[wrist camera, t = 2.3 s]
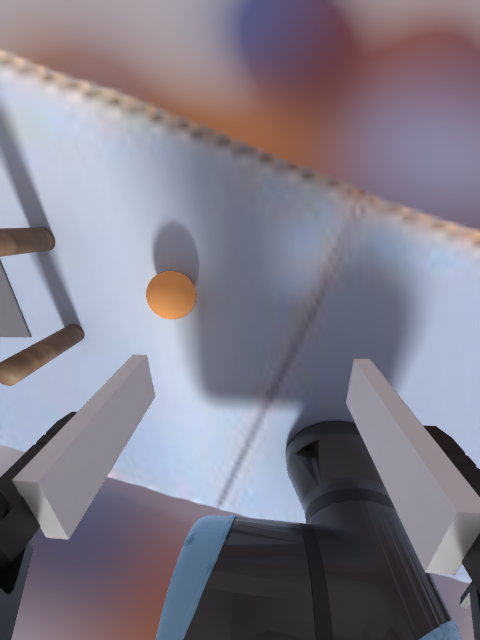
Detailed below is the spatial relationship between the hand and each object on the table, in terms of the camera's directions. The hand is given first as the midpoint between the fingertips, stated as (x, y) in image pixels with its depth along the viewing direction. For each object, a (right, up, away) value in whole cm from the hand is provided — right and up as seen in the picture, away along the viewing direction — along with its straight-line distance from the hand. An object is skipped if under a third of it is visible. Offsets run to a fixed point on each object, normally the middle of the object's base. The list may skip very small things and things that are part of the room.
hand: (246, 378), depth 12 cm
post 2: (-24, +1, +21) cm, 32 cm away
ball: (-8, +6, +15) cm, 18 cm away
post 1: (-24, +13, +16) cm, 32 cm away
